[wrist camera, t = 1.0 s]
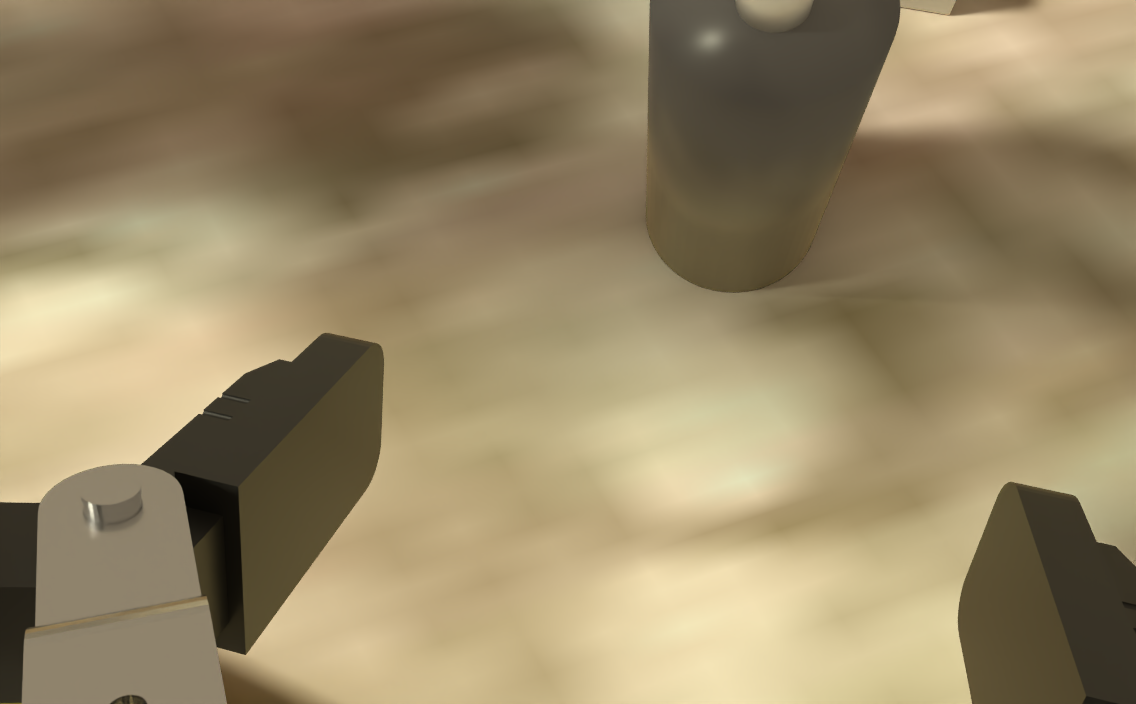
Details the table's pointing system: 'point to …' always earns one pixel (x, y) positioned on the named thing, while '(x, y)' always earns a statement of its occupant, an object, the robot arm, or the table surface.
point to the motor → (929, 5)
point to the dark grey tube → (753, 127)
